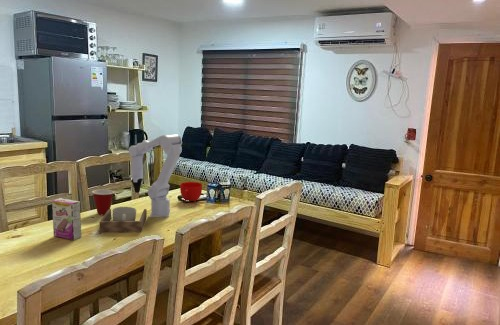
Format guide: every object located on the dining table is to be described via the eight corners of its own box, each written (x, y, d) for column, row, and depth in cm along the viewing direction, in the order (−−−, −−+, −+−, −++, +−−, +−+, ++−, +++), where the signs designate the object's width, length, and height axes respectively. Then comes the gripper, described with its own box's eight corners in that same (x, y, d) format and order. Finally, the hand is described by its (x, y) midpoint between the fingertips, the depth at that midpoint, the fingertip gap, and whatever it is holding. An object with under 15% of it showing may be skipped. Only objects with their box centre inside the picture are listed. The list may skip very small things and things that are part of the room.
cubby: (146, 218, 197) (146, 209, 196) (141, 232, 179) (141, 221, 178) (108, 218, 195) (108, 209, 194) (99, 232, 176) (99, 222, 175)
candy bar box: (52, 236, 169) (50, 200, 166) (61, 233, 174) (60, 197, 171) (73, 241, 166) (71, 203, 163) (82, 237, 170) (80, 200, 167)
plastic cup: (119, 212, 205) (118, 190, 202) (102, 218, 196) (101, 194, 193) (105, 208, 210) (105, 187, 208) (88, 213, 201) (87, 191, 199)
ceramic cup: (174, 204, 222) (174, 187, 221) (184, 197, 239) (184, 181, 237) (196, 206, 220) (196, 189, 219) (204, 198, 237) (204, 182, 235)
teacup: (115, 221, 192) (115, 205, 190) (138, 221, 193) (138, 206, 191) (108, 231, 178) (107, 214, 176) (132, 231, 179) (132, 214, 178)
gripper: (131, 164, 214) (131, 188, 217) (126, 170, 200) (127, 195, 203) (144, 165, 215) (144, 188, 218) (141, 170, 201) (141, 195, 204)
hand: (137, 192), depth 210 cm, fingers closed
